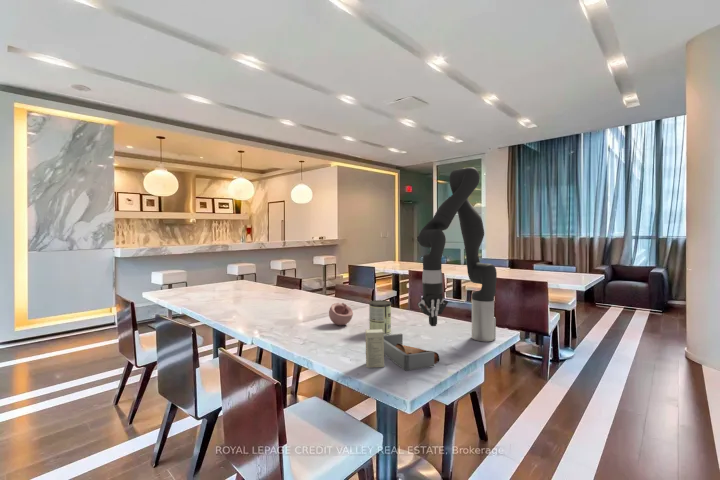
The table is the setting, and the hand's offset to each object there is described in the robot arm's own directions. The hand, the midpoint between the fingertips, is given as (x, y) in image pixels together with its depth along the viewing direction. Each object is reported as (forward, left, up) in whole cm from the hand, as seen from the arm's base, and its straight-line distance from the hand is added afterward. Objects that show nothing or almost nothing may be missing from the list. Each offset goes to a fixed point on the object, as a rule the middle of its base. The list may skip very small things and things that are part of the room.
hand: (433, 325), depth 136 cm
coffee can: (+7, -33, -11) cm, 35 cm away
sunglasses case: (+11, +3, -11) cm, 16 cm away
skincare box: (+26, +4, -11) cm, 29 cm away
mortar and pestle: (+20, -52, -11) cm, 57 cm away
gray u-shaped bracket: (+12, 0, -11) cm, 16 cm away
